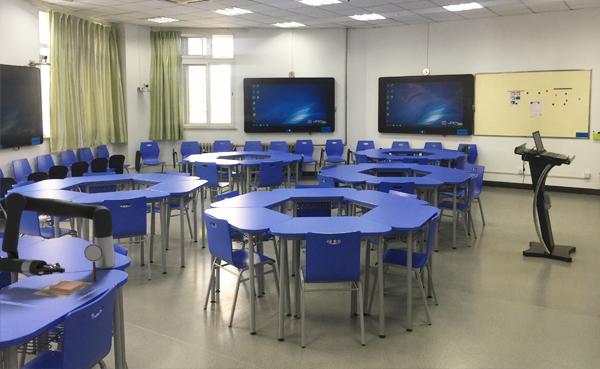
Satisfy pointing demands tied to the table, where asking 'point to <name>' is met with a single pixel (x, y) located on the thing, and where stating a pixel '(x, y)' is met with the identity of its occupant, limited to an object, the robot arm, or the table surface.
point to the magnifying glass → (93, 255)
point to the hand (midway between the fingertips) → (63, 270)
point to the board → (57, 294)
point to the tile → (67, 286)
